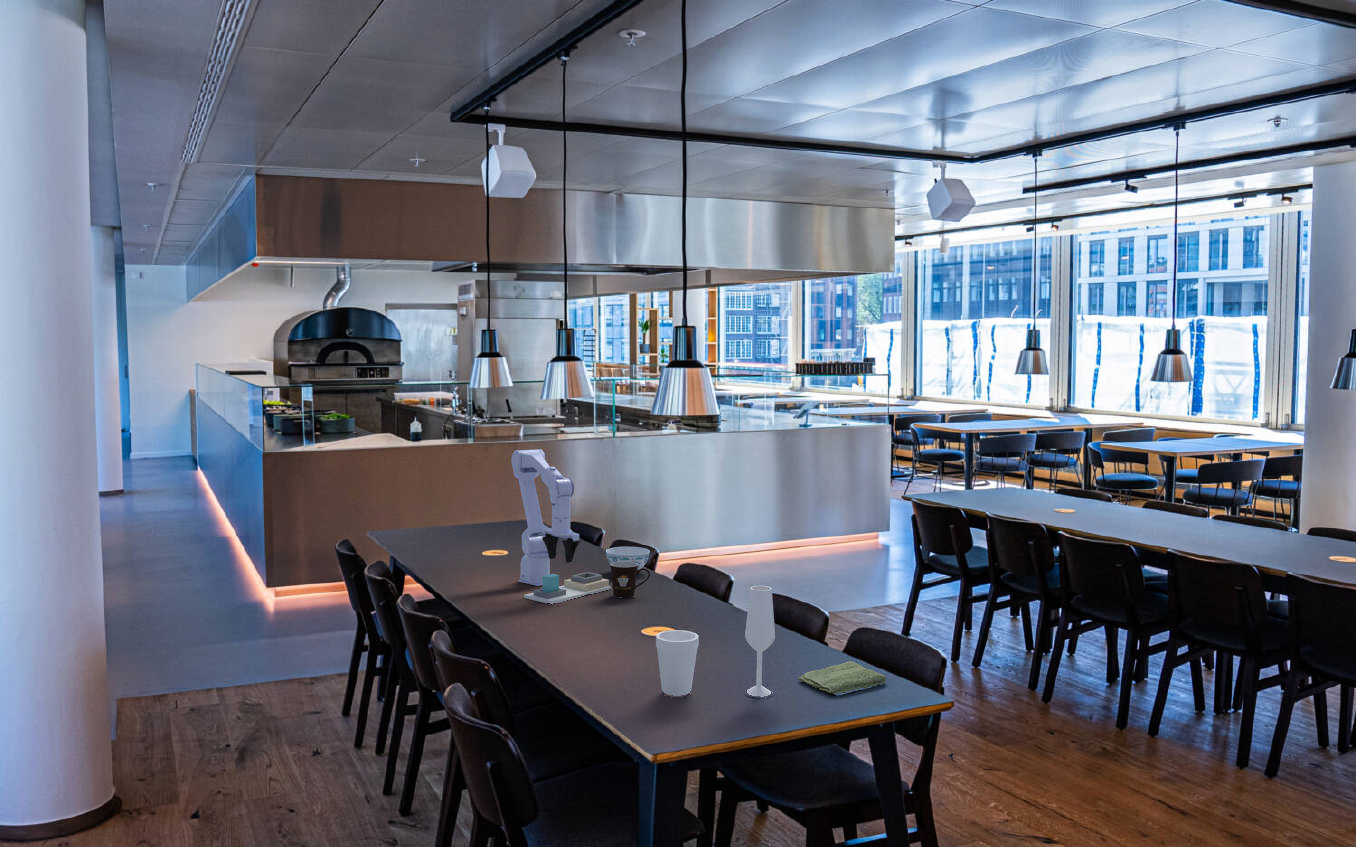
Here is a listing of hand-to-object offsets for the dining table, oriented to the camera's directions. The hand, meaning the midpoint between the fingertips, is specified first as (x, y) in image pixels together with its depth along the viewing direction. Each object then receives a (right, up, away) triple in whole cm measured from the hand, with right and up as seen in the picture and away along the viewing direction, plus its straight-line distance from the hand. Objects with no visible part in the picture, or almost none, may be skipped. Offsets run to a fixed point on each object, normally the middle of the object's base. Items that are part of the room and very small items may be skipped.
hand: (560, 560), depth 320 cm
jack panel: (+3, -10, -1) cm, 11 cm away
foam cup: (+36, -18, -91) cm, 100 cm away
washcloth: (+75, -18, -83) cm, 113 cm away
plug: (-2, -10, -6) cm, 12 cm away
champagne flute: (+55, -18, -91) cm, 108 cm away
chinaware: (+19, -9, +30) cm, 37 cm away
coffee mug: (+21, -11, -3) cm, 24 cm away
